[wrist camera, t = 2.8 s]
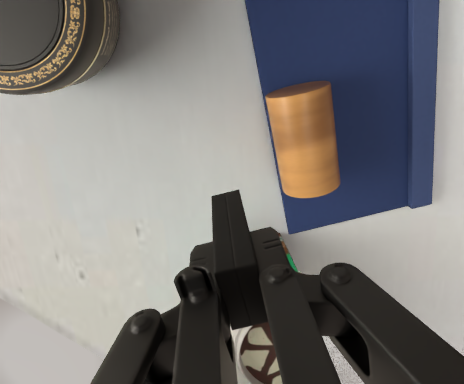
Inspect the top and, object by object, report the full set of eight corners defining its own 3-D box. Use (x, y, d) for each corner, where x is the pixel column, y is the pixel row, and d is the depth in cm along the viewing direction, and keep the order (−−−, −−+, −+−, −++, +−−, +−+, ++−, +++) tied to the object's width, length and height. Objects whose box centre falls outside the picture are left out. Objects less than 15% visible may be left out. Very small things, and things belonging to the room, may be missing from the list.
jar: (-9, 75, 24) (-98, 84, 17) (-34, -91, 20) (-165, -170, 13) (126, 93, 25) (95, 108, 18) (128, -60, 21) (89, -116, 14)
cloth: (241, -20, 22) (242, -24, 22) (432, -72, 22) (442, -77, 21) (288, 233, 31) (291, 238, 31) (425, 199, 31) (432, 204, 30)
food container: (217, 228, 31) (221, 302, 21) (279, 220, 31) (309, 289, 22) (231, 320, 36) (239, 412, 26) (284, 313, 36) (310, 402, 27)
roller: (269, 89, 26) (260, 101, 22) (329, 77, 24) (331, 87, 20) (285, 176, 29) (279, 201, 25) (338, 170, 28) (342, 195, 24)
